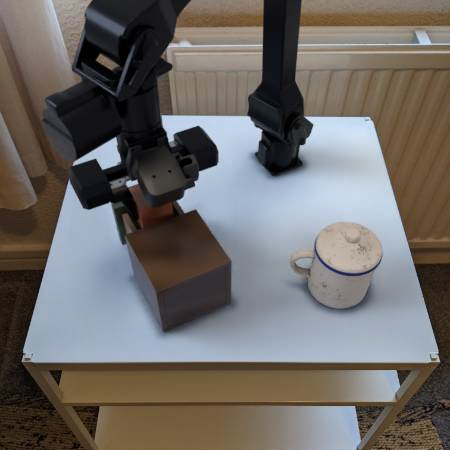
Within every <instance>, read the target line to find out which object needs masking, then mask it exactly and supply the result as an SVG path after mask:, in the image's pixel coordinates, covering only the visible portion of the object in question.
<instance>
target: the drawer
mask: <svg viewBox="0 0 450 450" xmlns="http://www.w3.org/2000/svg"><path fill="white" fill-rule="evenodd" d="M136 185H139V184H138V183H136V184H134V185H131V186H127V187H128V188H131V187H133V186H136ZM110 206H111V209H112V214H113V219H114V222H115V226H116V230H117V234H118V238H119V241H120V243H121V245H122V246H124V245H127V243H126V239H125V235H127V234H129V233H132V232H135V231H137V230H140V229H142V228H141V226H140V225H139V223H138V221H137V220H135V219H134V217H133V216H132V215H131V213H130V212H129V210H128V209H127V208H126V207H125V206H124V205H123V204H122V203H121V202H119V203H116V204H112V203H110ZM172 207H173V216H174V217H176V216H178V215H181V214H184V213H185V211H184V209H183V208H182V206H181V205H180V203H179V202H178V200H177V201H173V204H172Z"/></svg>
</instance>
